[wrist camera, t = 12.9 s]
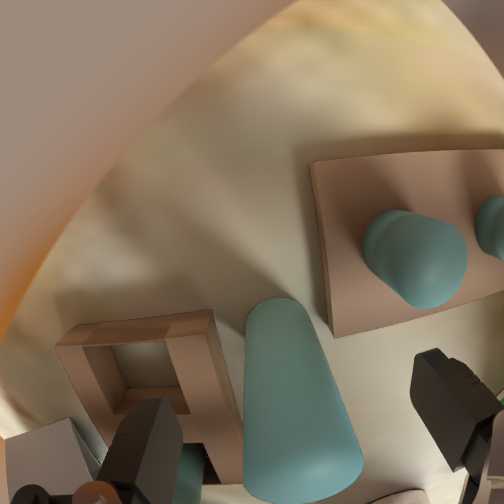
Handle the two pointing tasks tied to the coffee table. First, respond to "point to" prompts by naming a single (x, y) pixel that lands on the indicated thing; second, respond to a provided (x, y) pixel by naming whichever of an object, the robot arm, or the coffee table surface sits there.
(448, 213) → the board
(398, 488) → the coffee table surface
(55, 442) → the white rectangular block
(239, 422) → the board
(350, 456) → the pin
